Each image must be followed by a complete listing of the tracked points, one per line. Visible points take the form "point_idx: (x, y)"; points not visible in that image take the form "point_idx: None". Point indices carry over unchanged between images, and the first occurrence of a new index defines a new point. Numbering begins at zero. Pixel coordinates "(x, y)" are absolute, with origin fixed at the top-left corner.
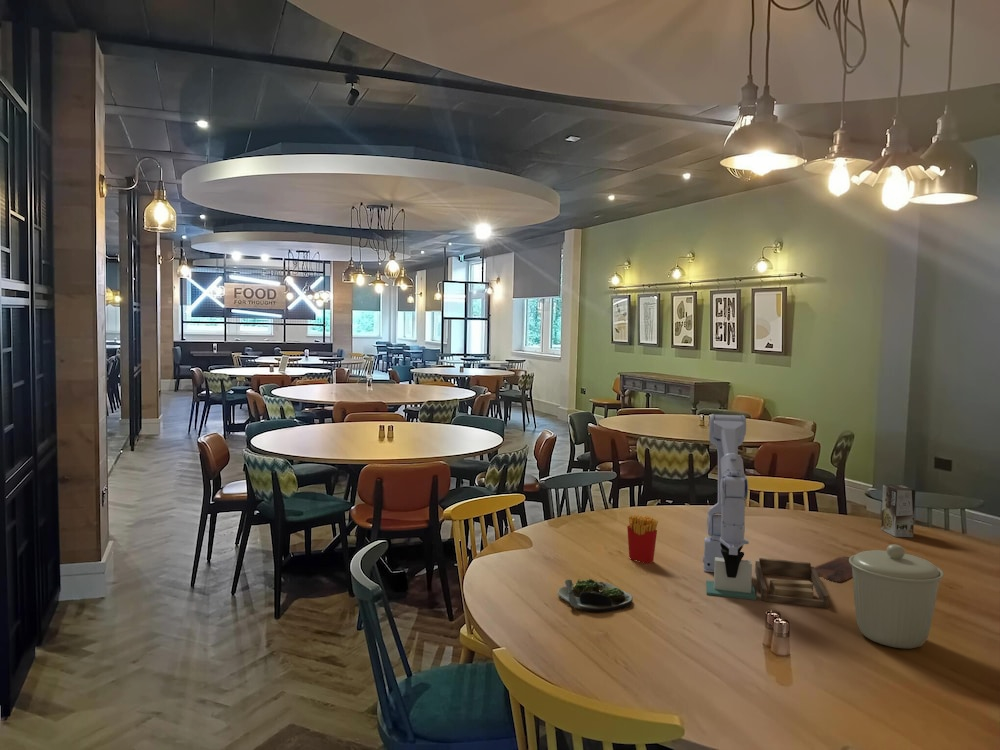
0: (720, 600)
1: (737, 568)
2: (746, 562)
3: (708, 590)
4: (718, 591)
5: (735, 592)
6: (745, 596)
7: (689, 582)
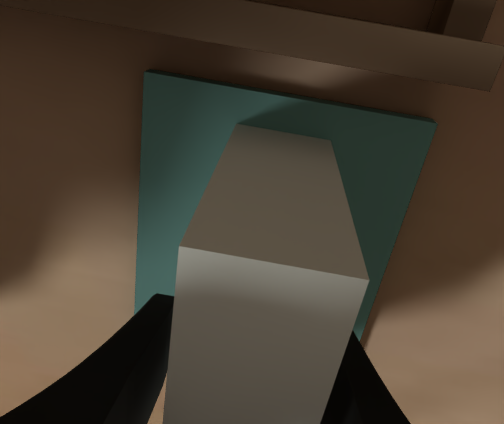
0: (429, 340)
1: (398, 408)
2: (282, 328)
3: None
4: None
5: None
6: (408, 200)
7: (157, 418)
